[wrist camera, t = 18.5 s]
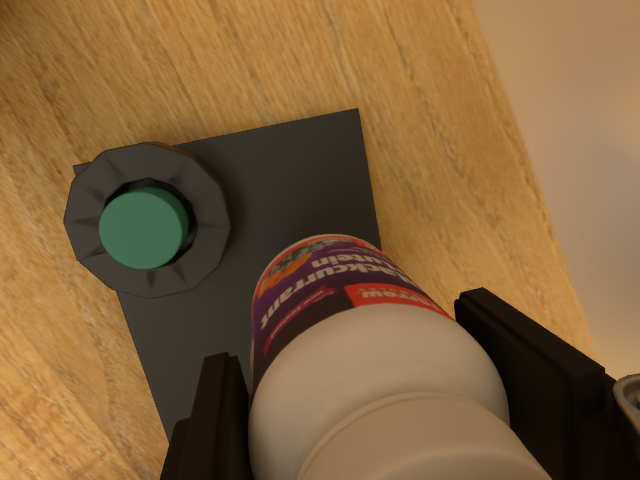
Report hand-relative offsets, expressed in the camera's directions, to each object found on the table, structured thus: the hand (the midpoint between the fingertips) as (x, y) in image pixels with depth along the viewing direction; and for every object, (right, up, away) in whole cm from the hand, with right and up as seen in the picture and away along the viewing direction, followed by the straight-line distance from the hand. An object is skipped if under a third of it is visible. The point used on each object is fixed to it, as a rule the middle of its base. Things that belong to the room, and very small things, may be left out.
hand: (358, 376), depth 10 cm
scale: (-4, +1, +9) cm, 10 cm away
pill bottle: (-1, +1, +5) cm, 5 cm away
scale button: (-7, +4, +5) cm, 9 cm away
